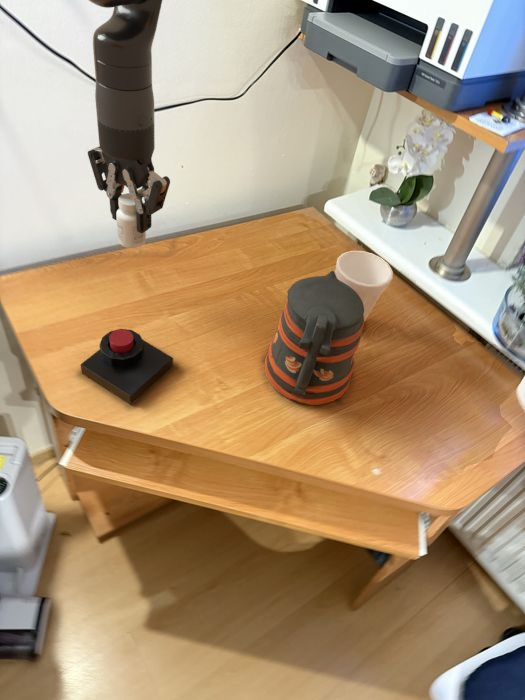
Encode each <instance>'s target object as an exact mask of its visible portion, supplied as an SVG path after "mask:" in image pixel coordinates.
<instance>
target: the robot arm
mask: <svg viewBox="0 0 525 700" xmlns="http://www.w3.org/2000/svg"><path fill="white" fill-rule="evenodd" d="M88 1H89V2H90V3H91V4H94V5H95V6H98V7H100V8H105V9H106V8H107V9H110V8H113V10H112V15H111V17H110V18H109V19H108V20H107V21H105V22H104V23H102V24H101V25H99V26H98V27H97V28H96V29H95V31H94V32H93V36H92V50H93V63H94V74H95V75H94V76H95V89H94V92H95V93H94V99H95V110H96V121H97V123H96V124H97V132H98V133H97V134H98V145H99V146H96V147H94V148H92V149H89V150H88V151H87V156H88V160H89V163H90V166H91V170H92V172H93V177H94V179H95V183H96V187H97V189H98V190H99V191H104V192H105V193H106V197H107V198H108V199H109V210H110V214H111V218H112V219H113V220H114V221H116V222H117V218H116V212H117V210H118V209H119V200H118V199H119V197H120V196H121V195H122V194H124V189H125V187H126V188H127V190H128V193H130V197H131V198H132V199H134V201H135V205H136V209H137V212H136V217H137V231H138V232H140V233H144V232H145V231H146V232H147V231H149V229H151V228H152V215H153V214H155V213H157V212H158V211H160V210H162V209H163V208H164V204H165V202H166V197H167V194H168V191H169V188H170V184H171V179H170V177H168V176H167V175H165V176H163V177H162V176H160V175H159V174H158V173H157V172H155V166H154V163H153V160H152V158H153V154H154V151H155V148H156V147H155V145H156V144H155V97H154V90H153V60H152V59H153V57H152V56H153V53H152V48H153V43H154V39H155V36H156V32H157V28H158V23H159V18H160V13H161V9H162V4H163V0H88ZM103 174H104V176H103ZM104 178H105V179H104Z"/></svg>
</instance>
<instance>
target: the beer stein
mask: <svg viewBox="0 0 525 700" xmlns="http://www.w3.org/2000/svg"><path fill="white" fill-rule="evenodd" d="M286 298H287V300H286V301H285V305H284V308H283V310H282V312H281V313H280V317H279V319H278V328H277V330H276V333H275V335H274V336H273V337H272V339H271V341H270V343H269V346H268V350H267V354H266V356H265V358H264V371H265V372H264V373H265V375H266V378H267V380H268V382H269V383H270V385H271V386H272V388H274V389H275V391H276V392H277V393H278V394H280V395H281V396H283V397H284V398H286V399H288V400H291V401H293V402H296V403H298V404H305V405H311V406H319V405H323V404H328V403H332V402H334V401H336V400H337V399H340V398H341V397H342V396H343V395H344V394H345V393H346V391H348V388H349V386H350V383H351V379H352V374H353V371H354V368H355V353H356V352H357V350H358V348H359V346H360V343H361V340H362V334H363V330H364V326H365V322H366V320H364V305H363V302H362V300H361V298H360V296H359V295H358V294H357V293H356V291H354V290H353V289H352V288H351V287H349V286H348V285H346V284H345V283H343V282H341V281H340V280H338V279H337V277H336V275H335V270H331V271H330V272H328V273H327V274H326V275H315V276H309V277H305V278H302V279H298V280H297V281H295V282H294V283H293V284H291V286H290V287H289V288H288V290H287V295H286ZM364 321H365V322H364Z"/></svg>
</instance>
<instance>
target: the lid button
mask: <svg viewBox="0 0 525 700" xmlns="http://www.w3.org/2000/svg"><path fill="white" fill-rule="evenodd" d="M120 329H121V330H118V329H115V330H116V331H114V330H113V331H114V332H112V333H111V335H110V337H109V341H110V348H111V349H112V351H114V352H116V353H121V354H123V353H127V352H129V351H131V350H132V348H133V346H134V341H133V335H132V333H131V332H130V331H127V330H128V329H127V330H123V329H124V328H120Z"/></svg>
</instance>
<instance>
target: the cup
mask: <svg viewBox="0 0 525 700" xmlns="http://www.w3.org/2000/svg"><path fill="white" fill-rule="evenodd" d="M334 272H335V275H336V277H337V279H338V280H340V281H341V282H343V283H345V284H346V285H348V286H349V287H351V288H352V289H353V290H354V291H356V293H357V294H358V295H359V296H360V298H361V300H362V302H363V305H364V320H365V321H364V323H365V322H366V320H367V319H368V317H369V315H370V314H371V312H372V311H373V309H374V307H375V306H376V304H377V302H378V300H379V299H380V297H381V295H382V294H383V293H384V291H386V290H387V288H388V287H389V286H390V284H391V282H392V281H393V277H394V271H393V269H392V267H391V266H390V264H389V263H388V262H387V261H386V260H384V259H383V258H382V257H381V256H378V255H377V254H375V253H371V252H368V251H364V250H350V251H346V252H343V253H342V254H340V255H339V256H338V257H337V259H336V263H335V268H334Z"/></svg>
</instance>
